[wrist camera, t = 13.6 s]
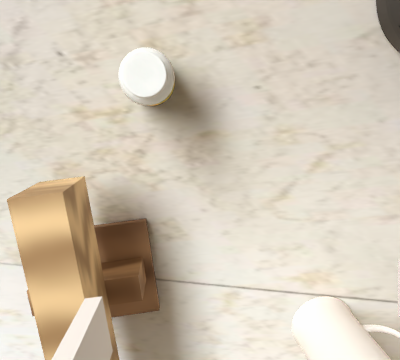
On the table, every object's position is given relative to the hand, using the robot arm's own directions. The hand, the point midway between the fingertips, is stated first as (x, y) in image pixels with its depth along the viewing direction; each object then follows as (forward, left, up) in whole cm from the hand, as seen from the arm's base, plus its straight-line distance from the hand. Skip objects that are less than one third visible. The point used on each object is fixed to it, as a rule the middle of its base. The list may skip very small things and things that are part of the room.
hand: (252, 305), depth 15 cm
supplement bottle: (-12, -5, -28) cm, 31 cm away
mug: (+22, +15, -28) cm, 39 cm away
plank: (+10, -15, -22) cm, 28 cm away
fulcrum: (+10, -15, -28) cm, 33 cm away
